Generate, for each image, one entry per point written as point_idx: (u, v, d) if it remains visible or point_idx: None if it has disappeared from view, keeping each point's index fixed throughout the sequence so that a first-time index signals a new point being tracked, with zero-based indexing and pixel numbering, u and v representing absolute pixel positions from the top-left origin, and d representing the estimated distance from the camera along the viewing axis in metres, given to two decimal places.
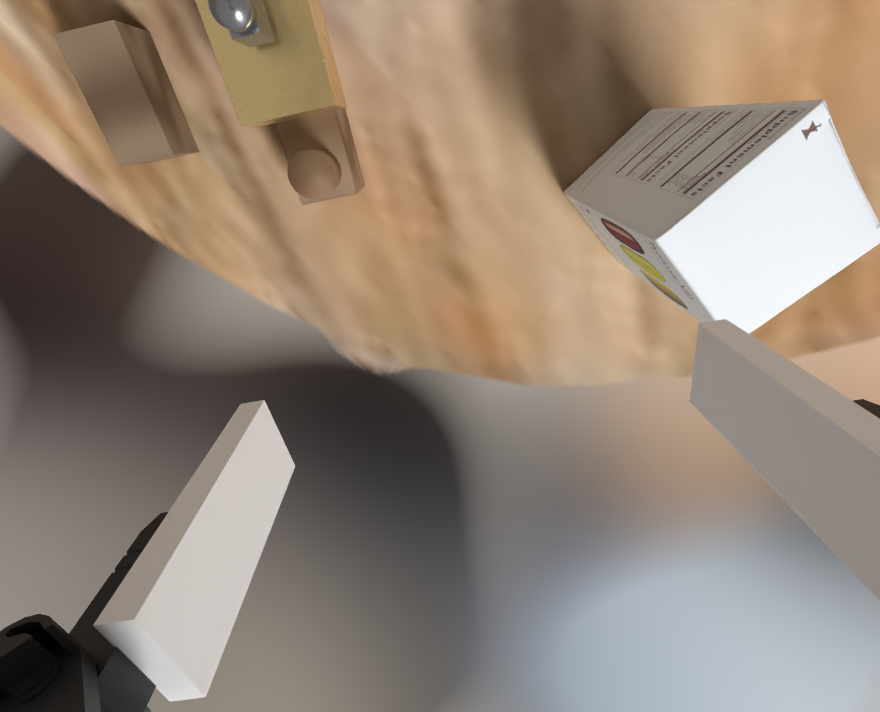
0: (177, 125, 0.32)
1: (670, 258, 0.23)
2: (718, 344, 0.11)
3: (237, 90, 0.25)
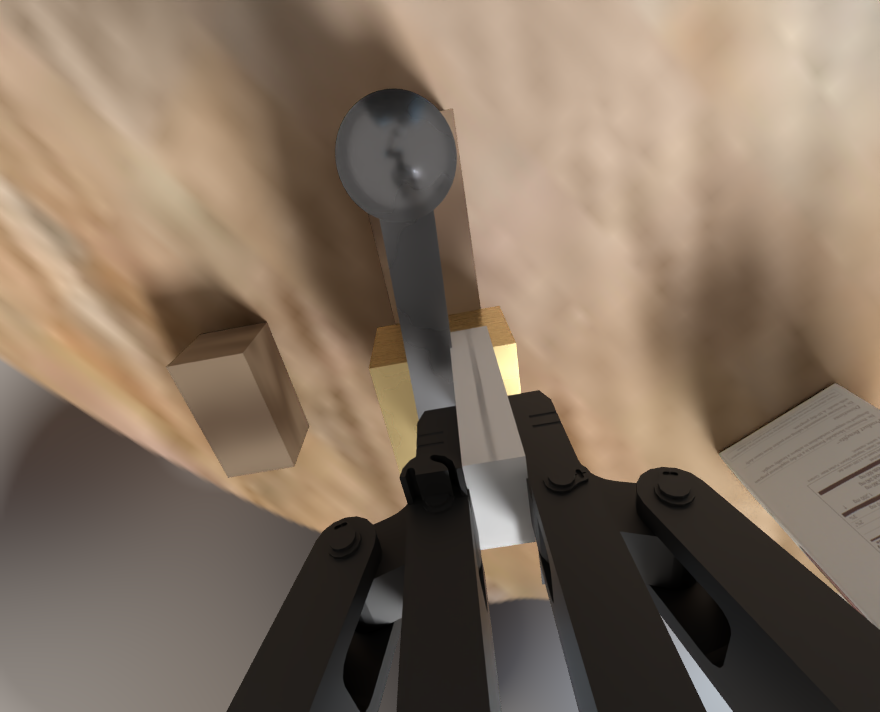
0: (293, 418, 0.27)
1: None
2: (468, 346, 0.14)
3: None
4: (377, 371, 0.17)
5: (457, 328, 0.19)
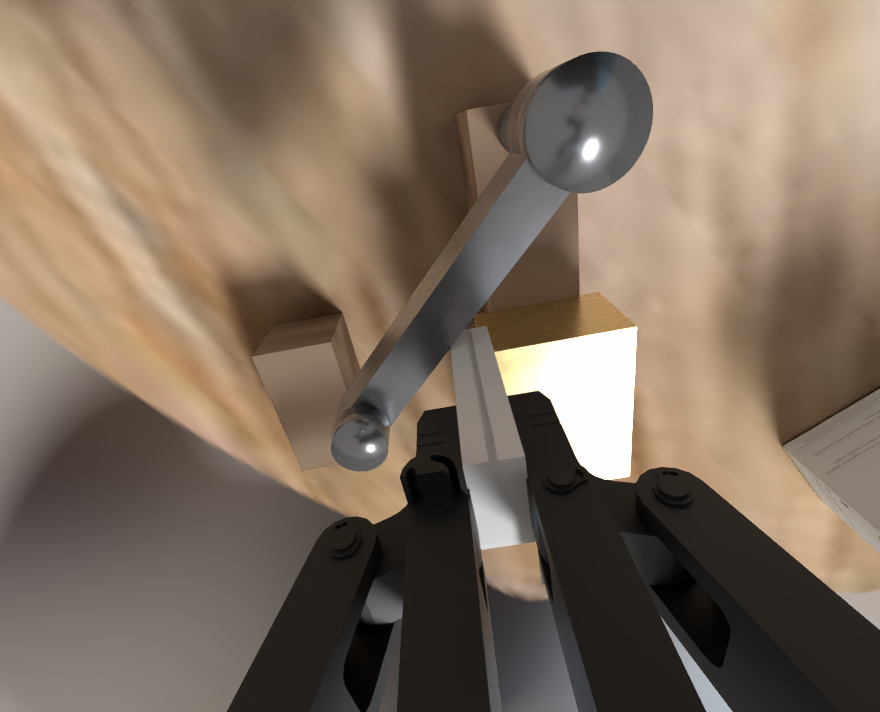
0: None
1: None
2: (467, 346, 0.14)
3: None
4: None
5: (563, 314, 0.19)
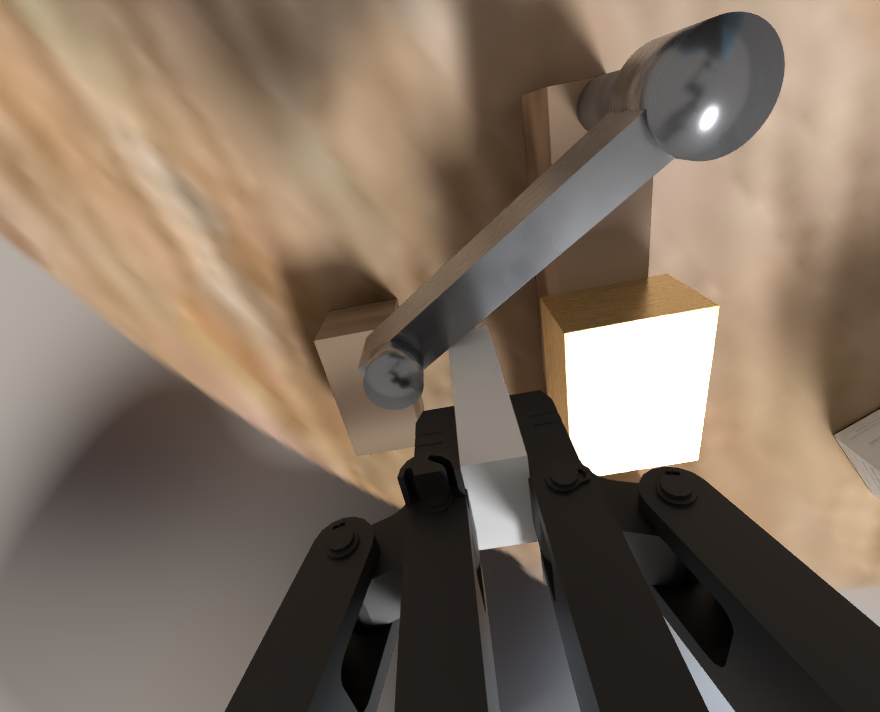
0: None
1: None
2: (468, 346, 0.14)
3: (582, 450, 0.20)
4: (572, 336, 0.17)
5: (636, 295, 0.19)
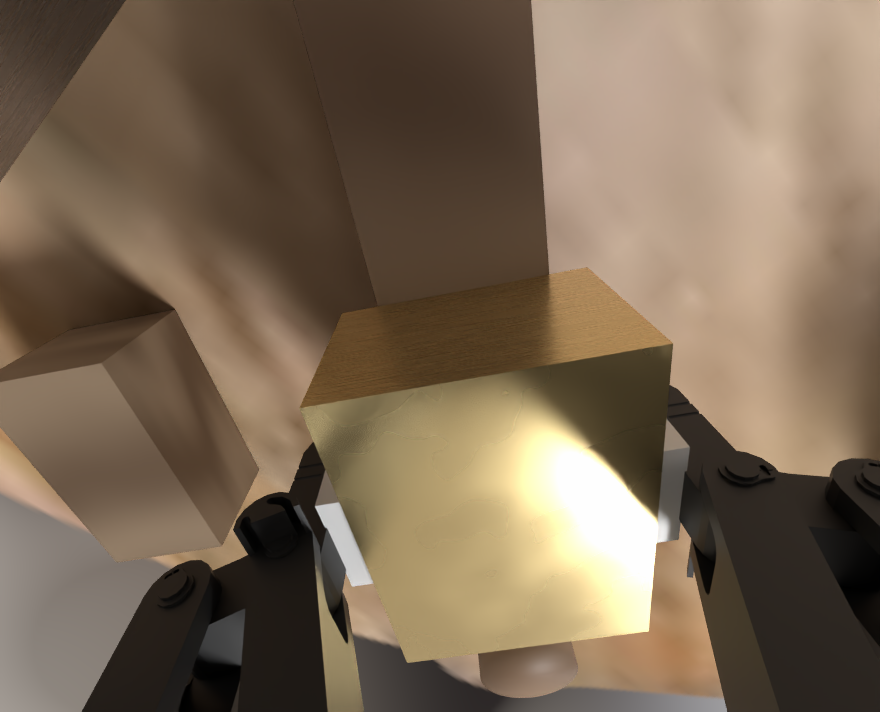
0: (226, 464, 0.17)
1: None
2: None
3: (413, 619, 0.10)
4: (321, 414, 0.07)
5: (507, 312, 0.09)
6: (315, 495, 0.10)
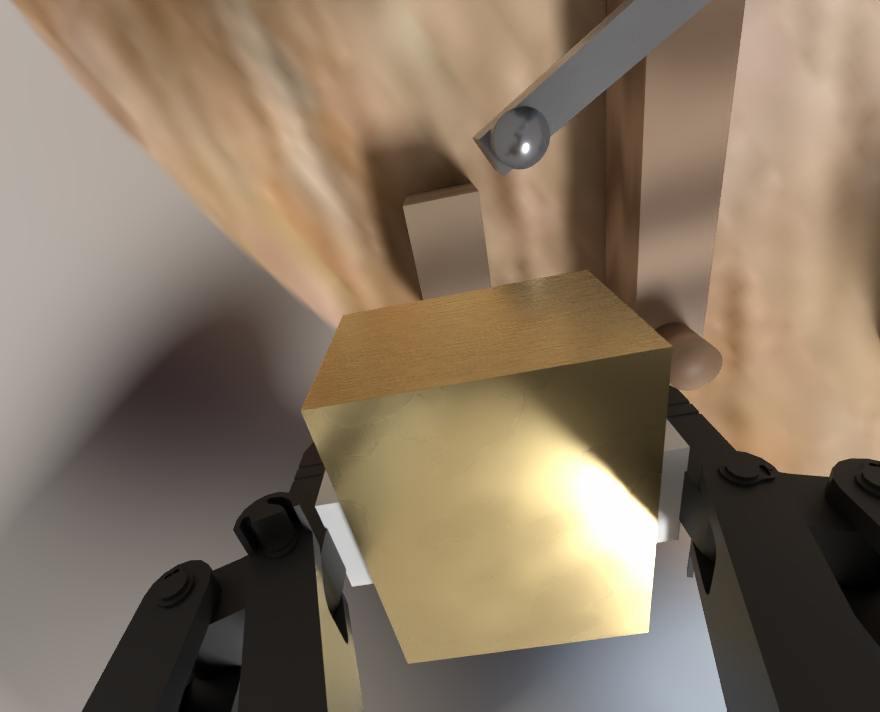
0: None
1: None
2: None
3: (414, 620, 0.10)
4: (322, 416, 0.07)
5: (508, 314, 0.09)
6: (315, 495, 0.10)
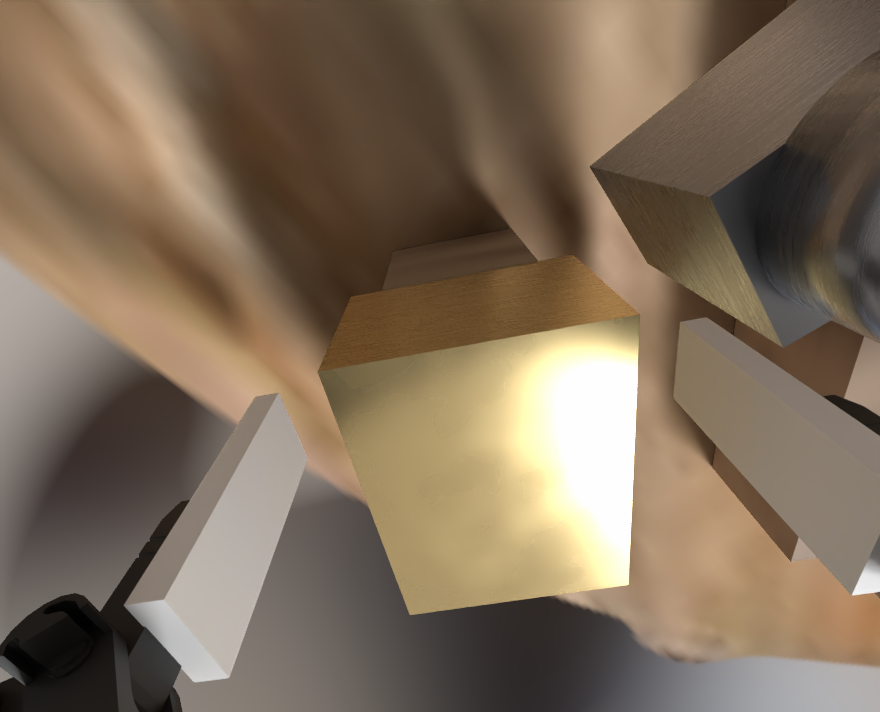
0: None
1: None
2: (697, 342, 0.12)
3: (415, 572, 0.11)
4: (336, 377, 0.08)
5: (499, 292, 0.10)
6: None
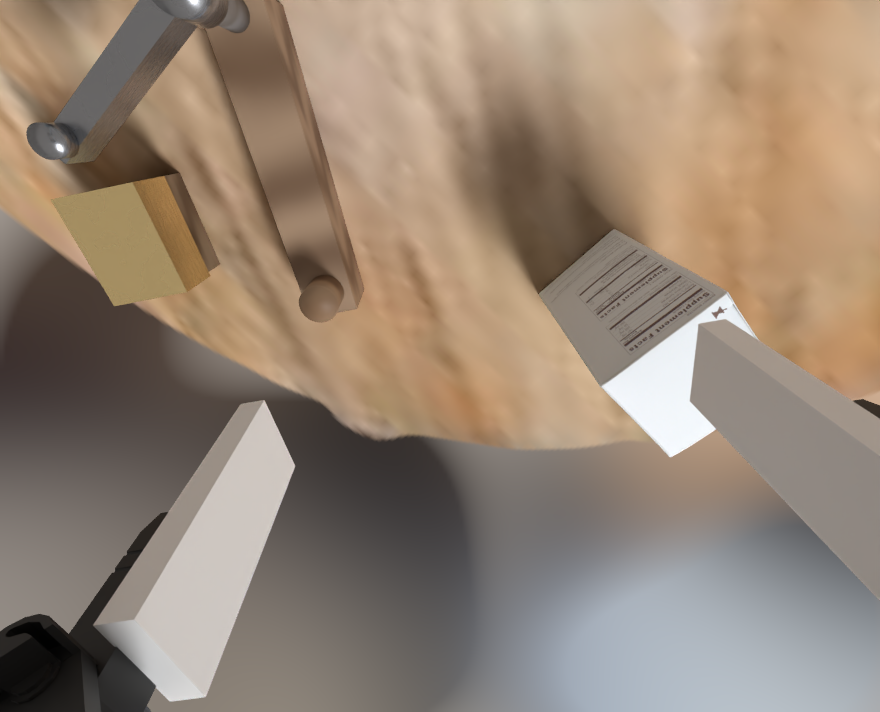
0: (202, 248, 0.37)
1: (613, 398, 0.28)
2: (718, 344, 0.11)
3: (108, 283, 0.32)
4: (56, 201, 0.29)
5: None
6: None
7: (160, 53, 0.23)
